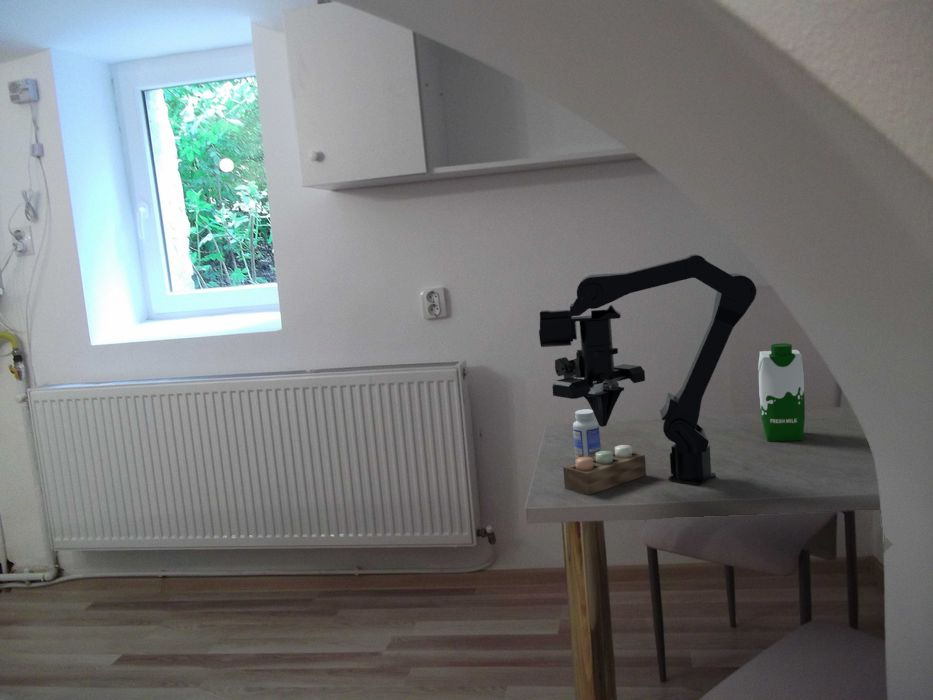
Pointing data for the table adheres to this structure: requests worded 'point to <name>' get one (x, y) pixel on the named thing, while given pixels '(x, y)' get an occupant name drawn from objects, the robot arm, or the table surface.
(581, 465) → the peach oval piece
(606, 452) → the sage egg
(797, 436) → the milk carton
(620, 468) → the wooden egg tray
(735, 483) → the table surface
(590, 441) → the pill bottle
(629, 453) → the white rounded piece
